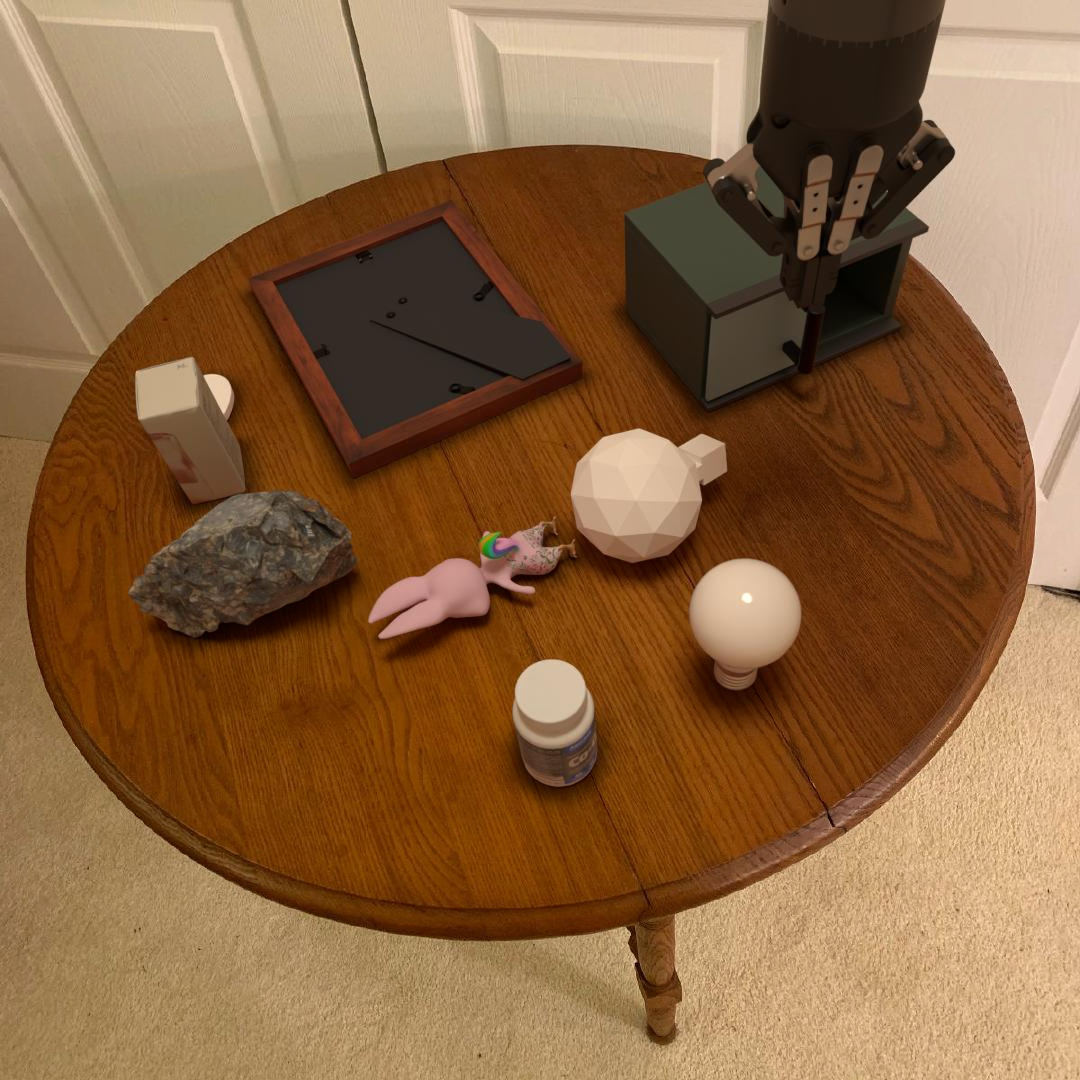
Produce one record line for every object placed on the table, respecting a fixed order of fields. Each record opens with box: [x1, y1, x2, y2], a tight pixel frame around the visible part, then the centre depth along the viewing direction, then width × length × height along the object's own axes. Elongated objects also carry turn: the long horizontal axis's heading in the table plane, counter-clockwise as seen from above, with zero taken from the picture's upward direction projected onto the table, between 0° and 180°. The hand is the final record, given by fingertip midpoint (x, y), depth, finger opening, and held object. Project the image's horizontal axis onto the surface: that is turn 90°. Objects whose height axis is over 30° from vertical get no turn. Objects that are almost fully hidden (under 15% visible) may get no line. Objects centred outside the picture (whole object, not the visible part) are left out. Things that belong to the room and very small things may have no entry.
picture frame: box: [247, 199, 584, 479], centre depth 84 cm, size 20×2×25 cm
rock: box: [127, 489, 358, 639], centre depth 66 cm, size 14×10×10 cm
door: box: [705, 291, 825, 401], centre depth 73 cm, size 4×9×8 cm, turn 116°
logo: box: [203, 373, 235, 421], centre depth 82 cm, size 6×1×8 cm
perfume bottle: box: [570, 428, 728, 564], centre depth 68 cm, size 9×9×12 cm
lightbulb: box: [688, 557, 803, 692], centre depth 59 cm, size 6×6×11 cm
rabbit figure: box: [367, 515, 578, 640], centre depth 67 cm, size 6×6×15 cm
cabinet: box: [623, 166, 930, 413], centre depth 78 cm, size 13×18×10 cm
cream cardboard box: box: [134, 356, 247, 505], centre depth 73 cm, size 5×4×10 cm
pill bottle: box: [512, 658, 598, 788], centre depth 59 cm, size 5×5×8 cm
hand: (805, 297), depth 58 cm, fingers closed
